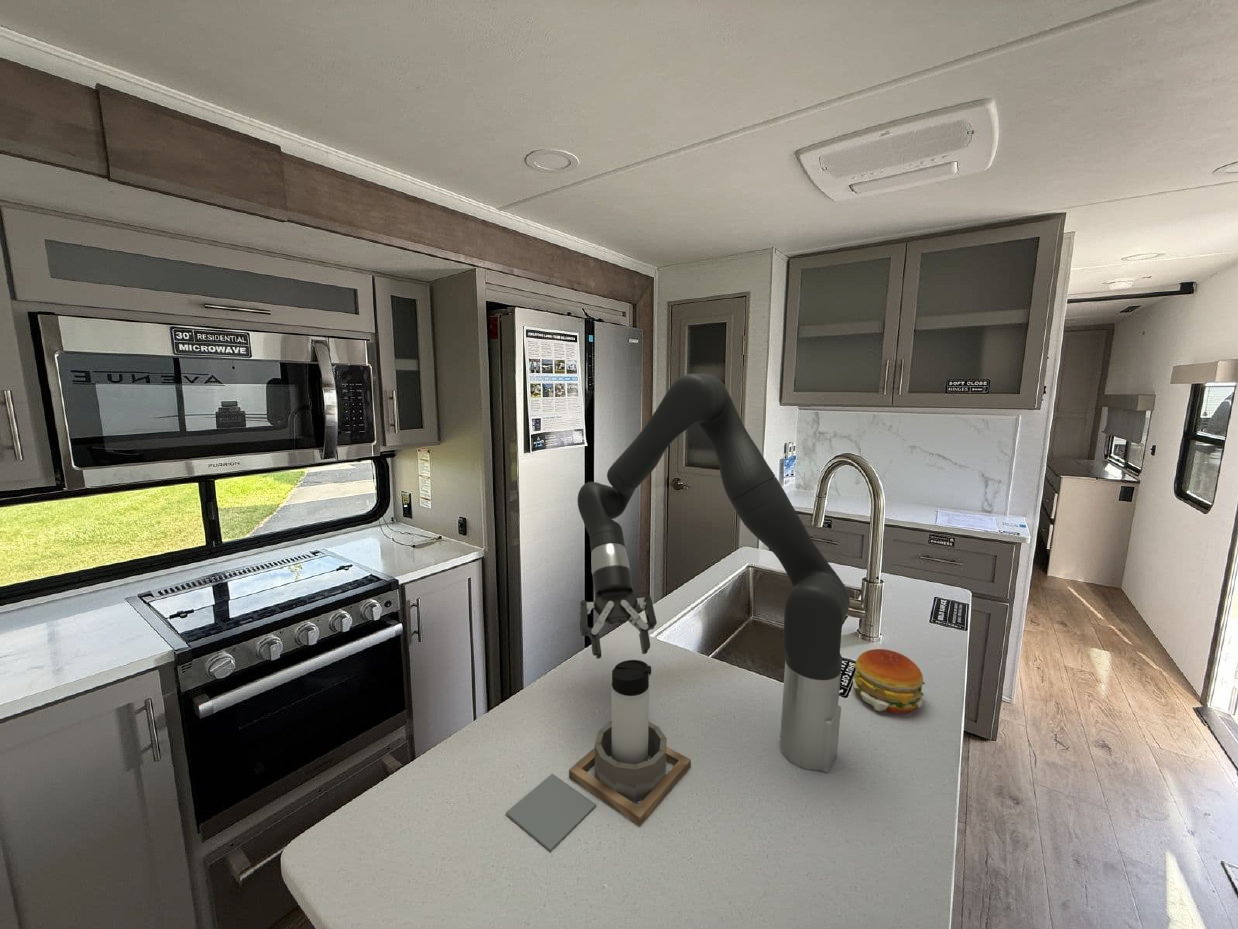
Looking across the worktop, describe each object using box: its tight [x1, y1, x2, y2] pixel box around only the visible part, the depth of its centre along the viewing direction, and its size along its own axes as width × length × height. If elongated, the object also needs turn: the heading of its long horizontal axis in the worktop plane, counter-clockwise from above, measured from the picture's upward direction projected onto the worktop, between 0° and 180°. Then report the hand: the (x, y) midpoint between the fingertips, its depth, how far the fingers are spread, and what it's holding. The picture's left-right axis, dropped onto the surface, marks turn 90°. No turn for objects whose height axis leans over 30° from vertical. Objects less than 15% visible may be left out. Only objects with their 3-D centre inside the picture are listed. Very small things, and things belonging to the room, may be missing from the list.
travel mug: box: [611, 659, 652, 764], centre depth 85 cm, size 6×7×20 cm
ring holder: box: [568, 720, 692, 827], centre depth 87 cm, size 15×15×6 cm
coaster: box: [505, 773, 597, 853], centre depth 79 cm, size 10×10×1 cm
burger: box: [852, 648, 926, 714], centre depth 106 cm, size 13×14×10 cm
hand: (622, 655), depth 91 cm, fingers open, 8 cm apart
